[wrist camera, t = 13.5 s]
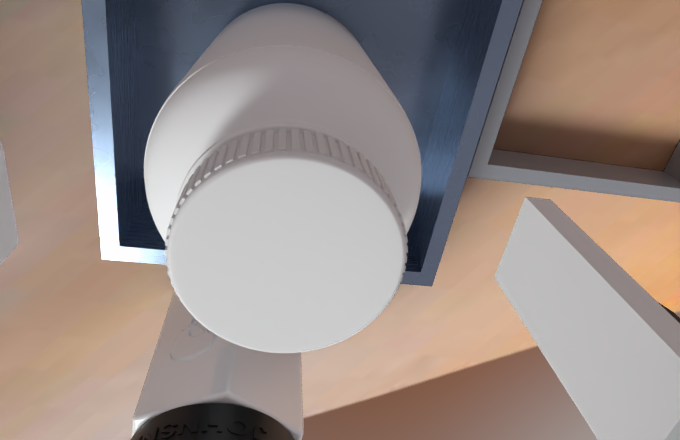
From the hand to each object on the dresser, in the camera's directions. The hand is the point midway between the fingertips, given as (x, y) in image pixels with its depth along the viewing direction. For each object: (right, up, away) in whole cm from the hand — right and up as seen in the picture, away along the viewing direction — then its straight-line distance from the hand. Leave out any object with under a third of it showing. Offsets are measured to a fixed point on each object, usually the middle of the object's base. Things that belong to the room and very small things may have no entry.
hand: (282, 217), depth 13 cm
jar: (-5, -7, +19) cm, 21 cm away
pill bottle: (-1, +6, +11) cm, 13 cm away
